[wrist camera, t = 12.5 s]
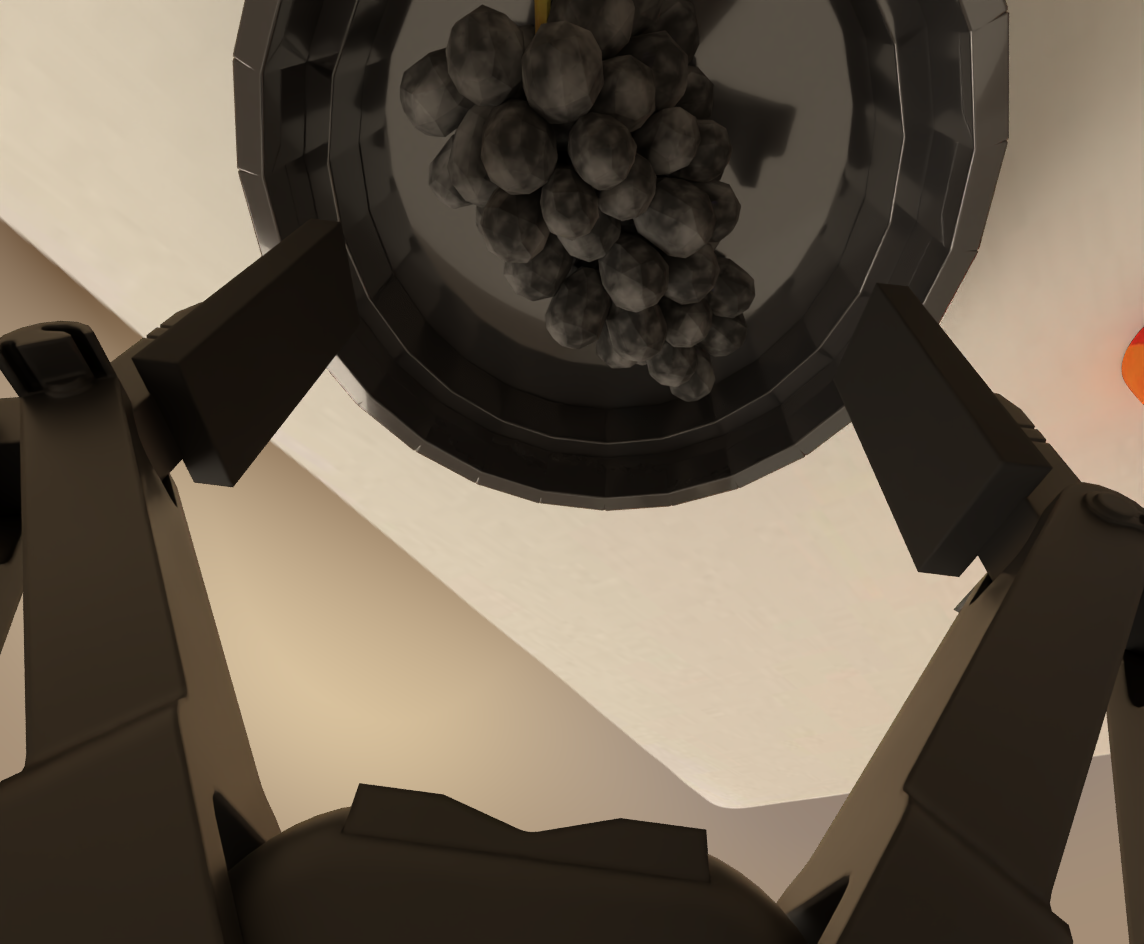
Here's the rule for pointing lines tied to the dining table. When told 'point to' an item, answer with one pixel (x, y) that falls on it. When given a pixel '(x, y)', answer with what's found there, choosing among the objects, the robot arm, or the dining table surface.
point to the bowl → (757, 243)
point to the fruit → (594, 176)
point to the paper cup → (1135, 366)
